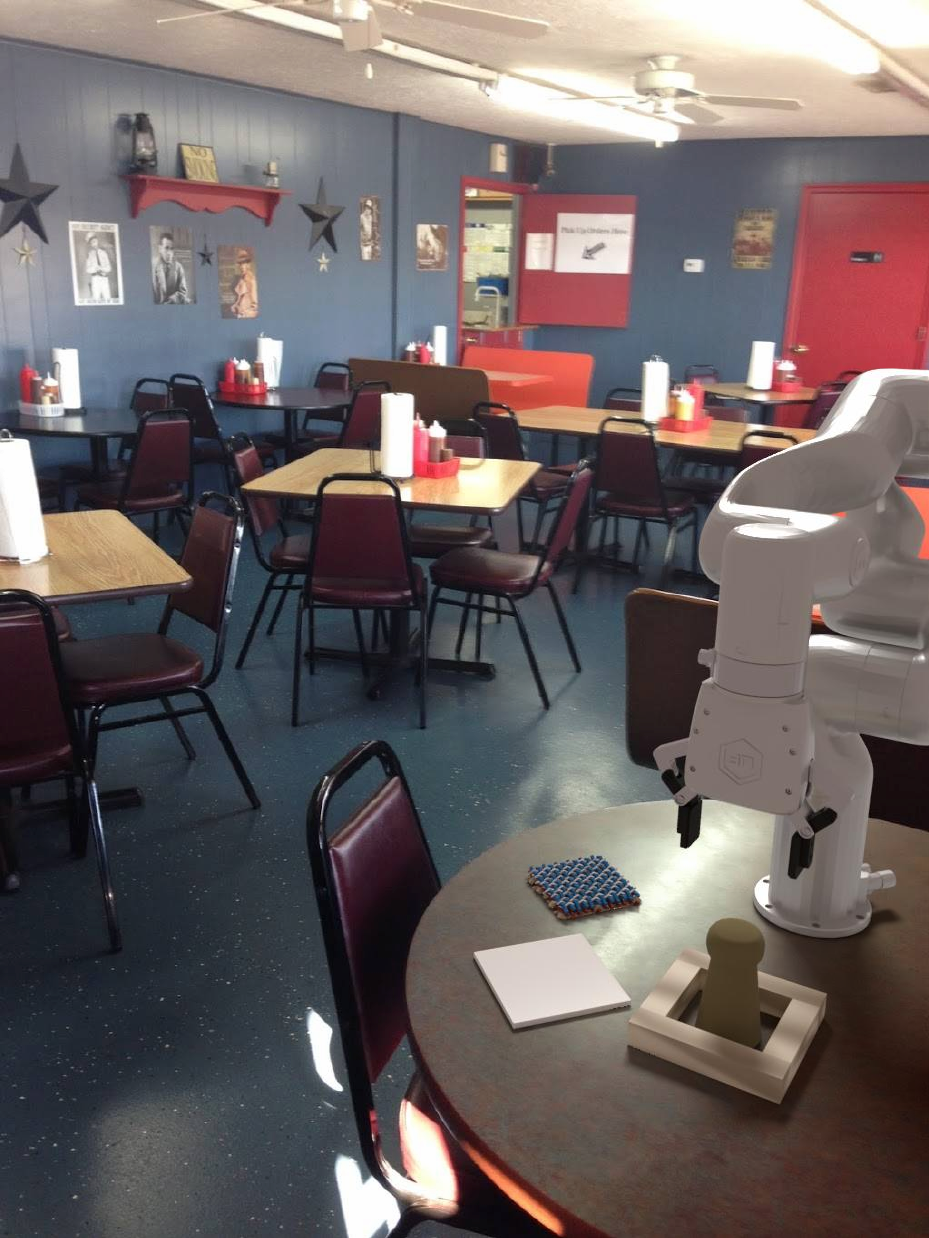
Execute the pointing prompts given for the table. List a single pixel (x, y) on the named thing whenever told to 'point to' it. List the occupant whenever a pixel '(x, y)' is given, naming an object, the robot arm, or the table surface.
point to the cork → (732, 982)
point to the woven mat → (582, 887)
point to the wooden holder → (717, 1055)
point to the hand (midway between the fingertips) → (741, 857)
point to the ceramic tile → (550, 980)
